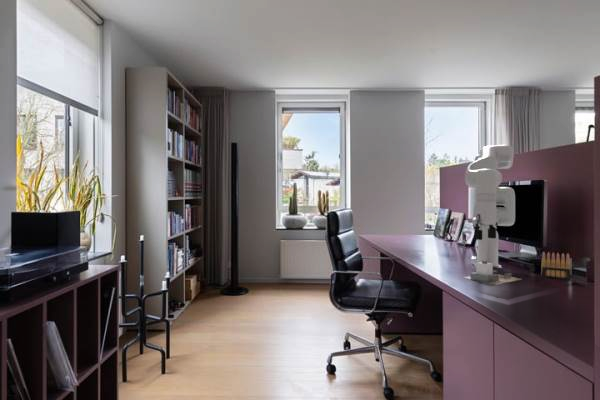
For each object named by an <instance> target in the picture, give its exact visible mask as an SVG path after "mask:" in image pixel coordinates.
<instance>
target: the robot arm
mask: <svg viewBox="0 0 600 400" xmlns="http://www.w3.org/2000/svg"><path fill="white" fill-rule="evenodd" d="M514 155H515V153H514V149H513V147H512V146H511V145H510V144H497V145H487V146H483V147H482V148H481V149H480V151H479V154H476V156H475V157H474V161H473V162H471V163H470V164H469V165H467V168H466V170H465V175H464V181H465V184H466V185H467V187H470V188H473V187H474V188H475V202H474V206H473V215H472V219H471V223H472V227H473V230H474V231H473V232H474V233H473V234H474V235H473V239H474V240H477V256H471V258H470V259H471V261H473V262H474V263H473V266H474V267H476V263H478V262H482V260H484V261H487V263H492V264H493V268H498V269H502V265H501V264H499V233H498V231H497V229H498V227H497V226H500V227H502V226H503V227H511V226H513V225H514V224H515V222H516V194H515V193H516V192H515V190H514V188H512V187H509V186H499V185H501V183H502V181H503V174H502V173H501V172H500V171H499V170H507V169H508V170H509V169H511V167H513V164H514V158H515V157H514ZM500 206H504V207H500Z"/></svg>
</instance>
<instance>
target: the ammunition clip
mask: <svg viewBox="0 0 600 400" xmlns="http://www.w3.org/2000/svg"><path fill="white" fill-rule="evenodd" d="M540 276H542V277H547V278H552V279H558V280H563V281H571V279H572V278H571V260H570V253H566V257H565V253H563V252H562V254H561V259H560V254H559V252H557V253H556V255H555V252H552V254H550V252H549V251H548V252H547V254H546V253H545V251H543V252H542V255H541V269H540Z"/></svg>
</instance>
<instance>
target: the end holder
mask: <svg viewBox="0 0 600 400" xmlns="http://www.w3.org/2000/svg"><path fill="white" fill-rule="evenodd" d="M499 275H500V274H499ZM499 275H497V274H493V275H490V276H485V275H480V274H476V271H473V272H470V275H469V276H470V279H469V280H473V279H474V280H473V281H477V280H478V282H481V281H482V283H486V282H487V283H486V284H490V282H495V281H499Z"/></svg>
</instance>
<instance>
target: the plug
mask: <svg viewBox="0 0 600 400" xmlns="http://www.w3.org/2000/svg"><path fill="white" fill-rule="evenodd" d="M475 267H476V269H475V270H476V271H475V272H476V274H480V275H485V276H490V275H493V270H494V267H493V264H492V263H487V261H484V260H482V262H478V263H476V266H475Z"/></svg>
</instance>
